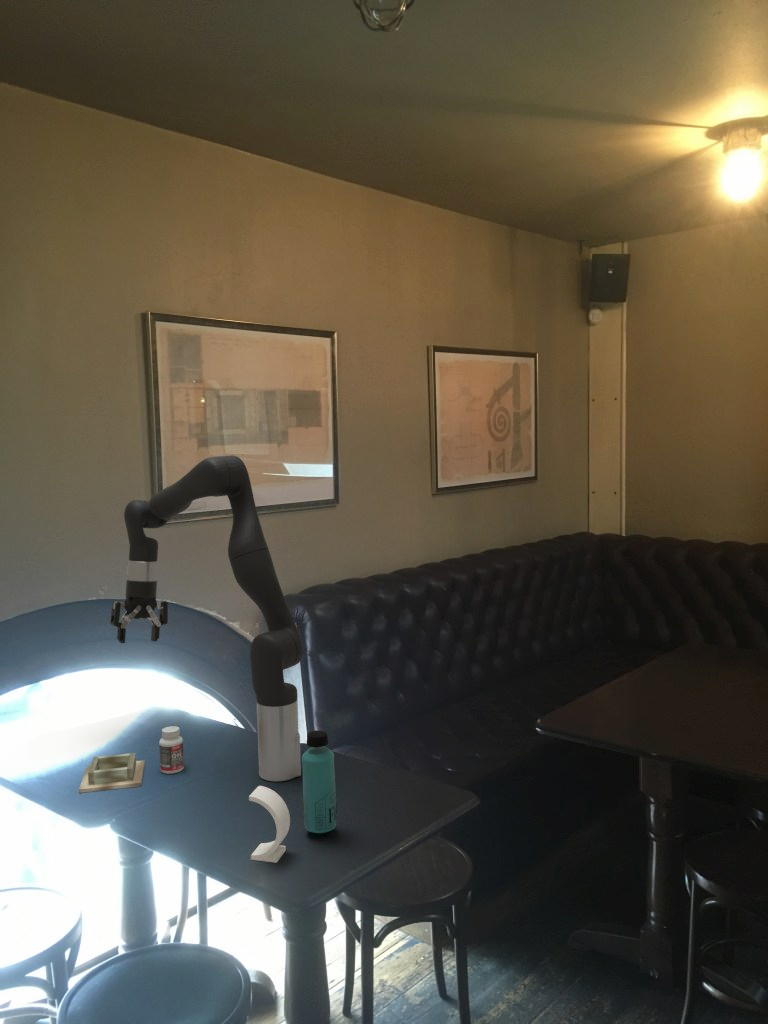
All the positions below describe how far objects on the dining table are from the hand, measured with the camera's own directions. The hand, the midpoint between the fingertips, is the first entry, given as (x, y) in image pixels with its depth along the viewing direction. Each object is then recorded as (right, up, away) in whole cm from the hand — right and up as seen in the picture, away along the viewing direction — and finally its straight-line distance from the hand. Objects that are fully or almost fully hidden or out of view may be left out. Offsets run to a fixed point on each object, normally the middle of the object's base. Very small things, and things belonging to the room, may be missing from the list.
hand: (138, 641), depth 206 cm
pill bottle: (+14, -27, -18) cm, 35 cm away
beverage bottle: (+50, -29, -50) cm, 77 cm away
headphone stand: (+42, -30, -58) cm, 78 cm away
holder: (+1, -27, -22) cm, 35 cm away
